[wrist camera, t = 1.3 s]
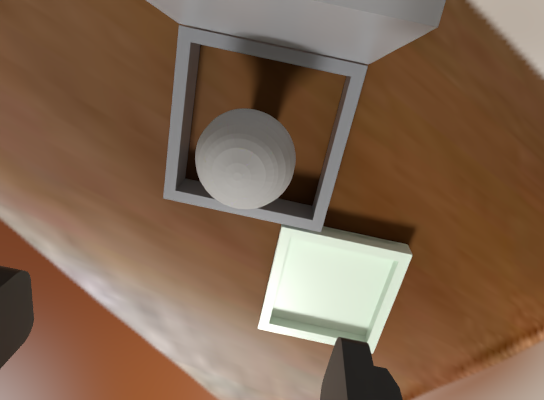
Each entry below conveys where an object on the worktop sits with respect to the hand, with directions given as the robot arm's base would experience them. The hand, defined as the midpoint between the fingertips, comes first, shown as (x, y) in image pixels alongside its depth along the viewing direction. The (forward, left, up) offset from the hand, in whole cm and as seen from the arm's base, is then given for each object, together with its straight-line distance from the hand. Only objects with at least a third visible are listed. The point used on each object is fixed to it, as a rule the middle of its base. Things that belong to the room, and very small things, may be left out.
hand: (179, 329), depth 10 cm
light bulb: (0, 0, -20) cm, 20 cm away
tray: (+8, -11, -20) cm, 24 cm away
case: (0, 0, -20) cm, 20 cm away
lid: (0, +7, -12) cm, 14 cm away
